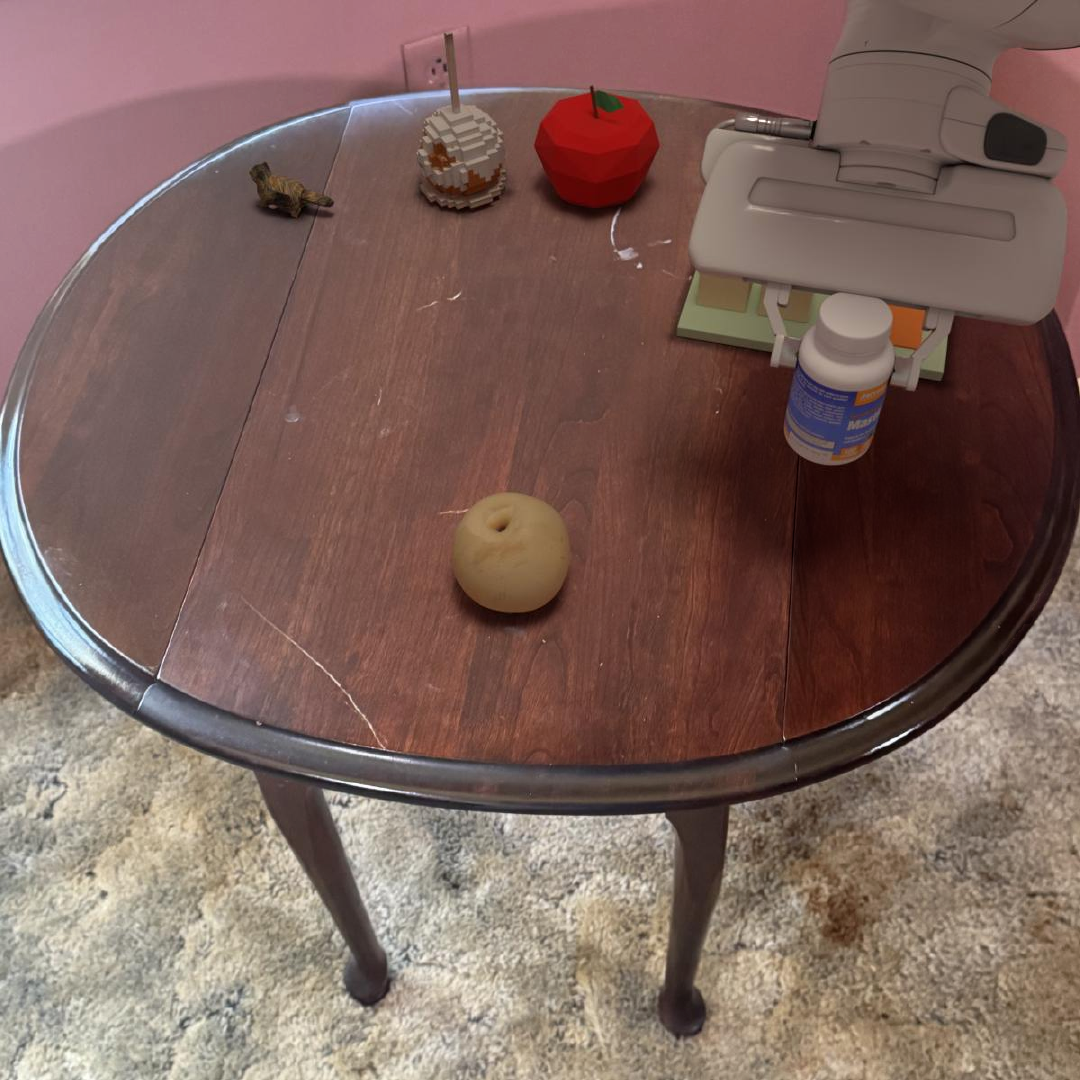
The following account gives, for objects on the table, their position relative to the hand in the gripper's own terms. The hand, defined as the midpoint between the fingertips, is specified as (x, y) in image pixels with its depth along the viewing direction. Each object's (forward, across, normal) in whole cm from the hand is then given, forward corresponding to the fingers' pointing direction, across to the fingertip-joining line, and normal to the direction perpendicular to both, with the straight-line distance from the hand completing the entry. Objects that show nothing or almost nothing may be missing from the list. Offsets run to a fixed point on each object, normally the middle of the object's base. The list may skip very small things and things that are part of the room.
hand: (841, 379), depth 64 cm
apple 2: (-15, -24, +38) cm, 48 cm away
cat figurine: (-8, -50, +31) cm, 60 cm away
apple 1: (+17, -18, +6) cm, 26 cm away
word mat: (-6, -2, +29) cm, 30 cm away
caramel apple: (-12, -36, +36) cm, 53 cm away
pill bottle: (+4, 0, +4) cm, 6 cm away
